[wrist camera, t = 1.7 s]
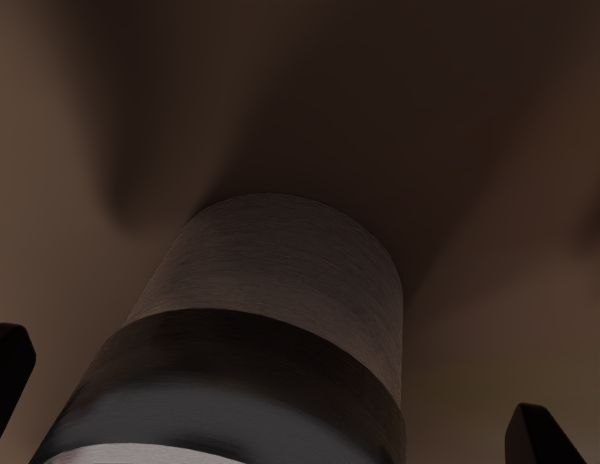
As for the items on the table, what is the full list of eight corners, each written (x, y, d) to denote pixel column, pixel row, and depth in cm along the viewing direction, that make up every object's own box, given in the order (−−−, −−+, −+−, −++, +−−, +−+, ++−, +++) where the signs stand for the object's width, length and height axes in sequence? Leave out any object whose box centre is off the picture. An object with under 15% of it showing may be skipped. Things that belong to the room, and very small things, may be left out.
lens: (391, 390, 12) (372, 865, 7) (179, 358, 13) (-8, 762, 7) (427, 204, 9) (449, 779, 4) (148, 173, 10) (-216, 618, 4)
